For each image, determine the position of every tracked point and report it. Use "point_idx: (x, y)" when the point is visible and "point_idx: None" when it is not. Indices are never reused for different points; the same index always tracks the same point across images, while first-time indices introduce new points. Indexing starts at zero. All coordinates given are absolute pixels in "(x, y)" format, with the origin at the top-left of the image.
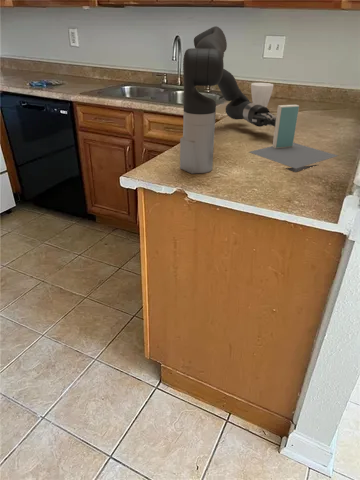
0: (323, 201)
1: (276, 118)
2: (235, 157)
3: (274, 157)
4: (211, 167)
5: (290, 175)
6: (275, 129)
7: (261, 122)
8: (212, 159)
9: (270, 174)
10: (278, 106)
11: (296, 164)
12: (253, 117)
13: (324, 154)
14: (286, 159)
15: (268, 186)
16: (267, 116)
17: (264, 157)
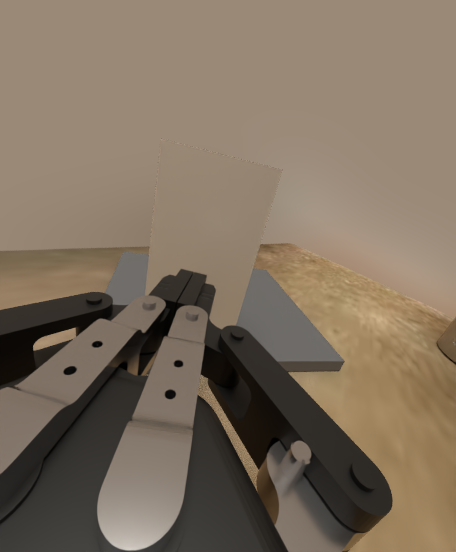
0: (278, 249)
1: (260, 240)
2: (385, 377)
3: (278, 304)
4: (441, 336)
5: (278, 276)
6: (245, 287)
7: (242, 420)
8: (452, 323)
9: (311, 289)
10: (280, 174)
11: (253, 273)
12: (369, 465)
13: (142, 264)
14: (256, 289)
15: (326, 278)
16: (200, 343)
17: (304, 315)
